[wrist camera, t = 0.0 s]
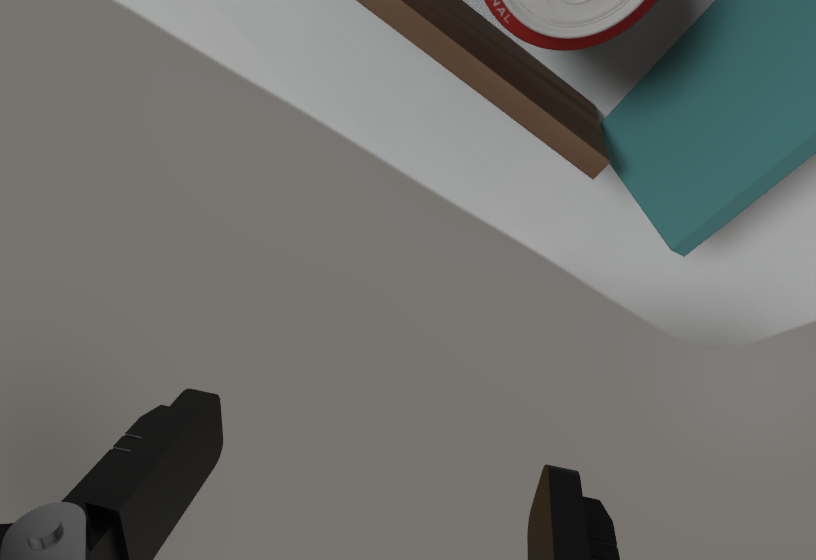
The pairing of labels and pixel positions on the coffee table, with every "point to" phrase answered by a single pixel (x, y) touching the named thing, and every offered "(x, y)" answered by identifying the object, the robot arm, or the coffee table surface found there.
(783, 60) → the flat panel
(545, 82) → the frame
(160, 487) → the robot arm
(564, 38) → the beverage can
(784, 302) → the coffee table surface
